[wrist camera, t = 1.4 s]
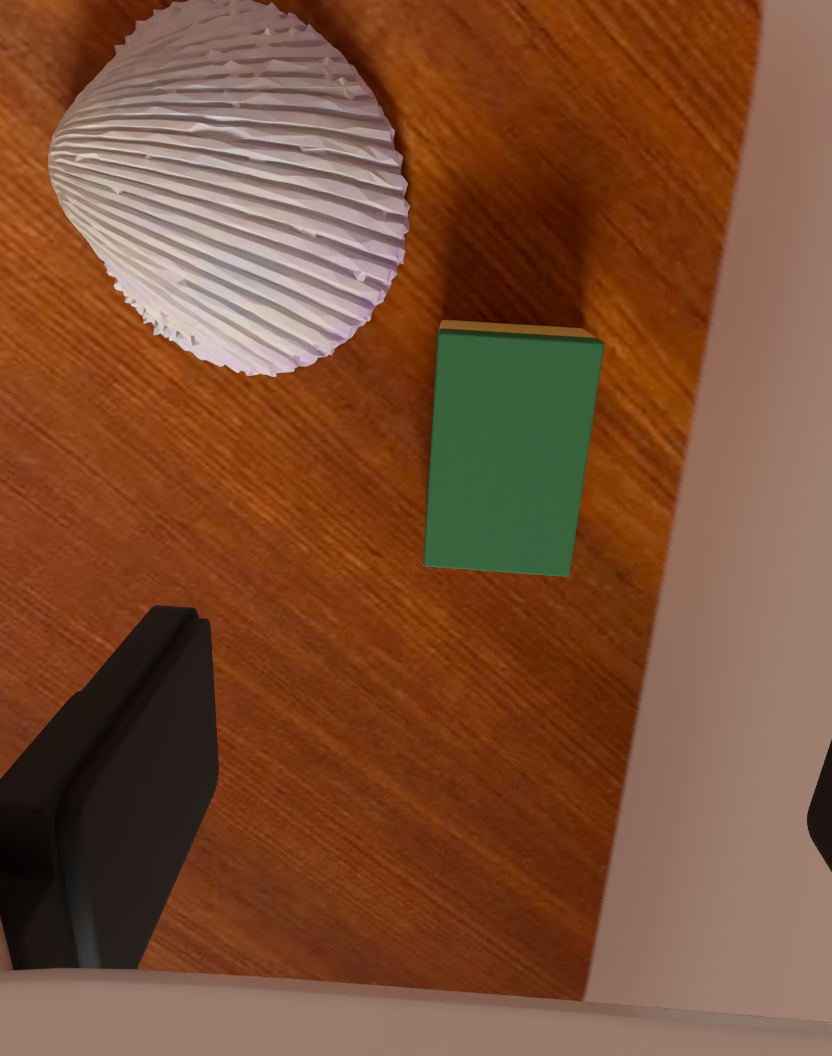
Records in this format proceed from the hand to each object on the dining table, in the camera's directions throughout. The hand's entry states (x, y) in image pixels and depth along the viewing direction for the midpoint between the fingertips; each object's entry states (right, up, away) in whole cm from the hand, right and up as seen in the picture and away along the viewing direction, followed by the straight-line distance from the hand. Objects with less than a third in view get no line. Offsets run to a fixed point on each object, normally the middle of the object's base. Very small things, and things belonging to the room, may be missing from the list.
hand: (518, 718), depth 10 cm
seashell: (-7, +13, +12) cm, 19 cm away
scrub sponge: (+1, +6, +14) cm, 15 cm away
